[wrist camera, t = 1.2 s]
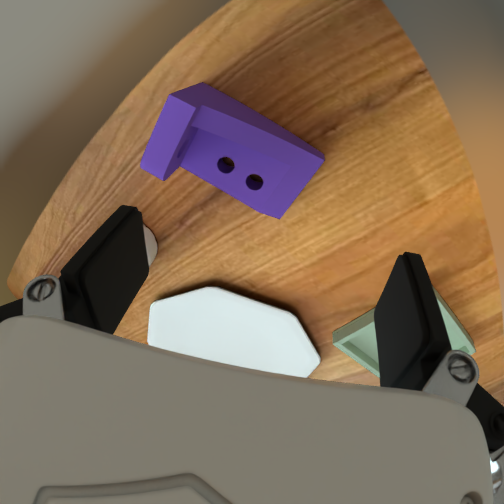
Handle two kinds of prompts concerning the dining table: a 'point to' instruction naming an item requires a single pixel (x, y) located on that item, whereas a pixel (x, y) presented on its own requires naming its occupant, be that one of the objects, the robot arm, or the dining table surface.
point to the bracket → (230, 149)
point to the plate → (232, 331)
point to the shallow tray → (365, 345)
